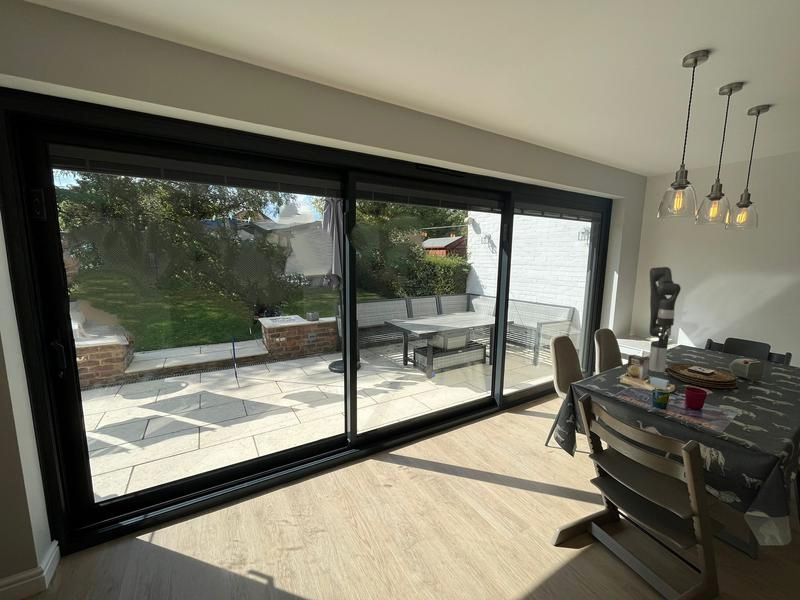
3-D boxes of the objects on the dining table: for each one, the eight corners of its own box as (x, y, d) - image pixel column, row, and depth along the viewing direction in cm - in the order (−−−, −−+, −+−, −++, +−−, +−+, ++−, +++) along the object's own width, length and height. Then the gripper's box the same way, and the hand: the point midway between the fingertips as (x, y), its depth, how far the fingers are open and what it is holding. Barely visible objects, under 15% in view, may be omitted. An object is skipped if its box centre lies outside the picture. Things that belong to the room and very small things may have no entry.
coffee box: (625, 379, 212) (627, 355, 210) (631, 378, 215) (633, 354, 213) (641, 384, 204) (643, 359, 202) (647, 382, 207) (649, 358, 205)
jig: (628, 377, 219) (628, 372, 218) (674, 389, 199) (675, 383, 198) (619, 381, 211) (620, 375, 211) (667, 394, 191) (668, 388, 191)
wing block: (652, 384, 204) (652, 376, 204) (668, 388, 198) (668, 380, 197) (649, 385, 202) (650, 378, 201) (665, 390, 196) (666, 381, 195)
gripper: (662, 314, 202) (659, 340, 204) (653, 317, 194) (651, 344, 196) (677, 316, 196) (674, 343, 198) (669, 319, 188) (666, 346, 190)
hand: (663, 343), depth 197 cm, fingers open, 8 cm apart
